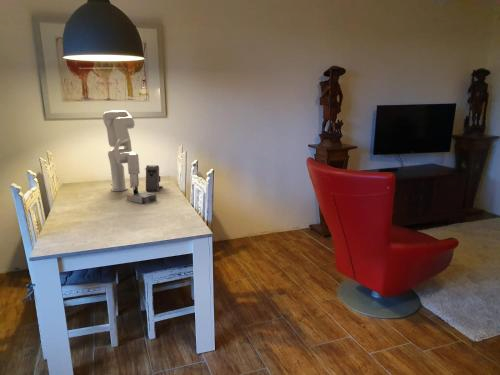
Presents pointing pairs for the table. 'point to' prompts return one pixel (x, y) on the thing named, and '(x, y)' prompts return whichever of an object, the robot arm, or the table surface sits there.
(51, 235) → the table surface
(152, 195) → the housing
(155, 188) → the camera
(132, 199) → the side door
